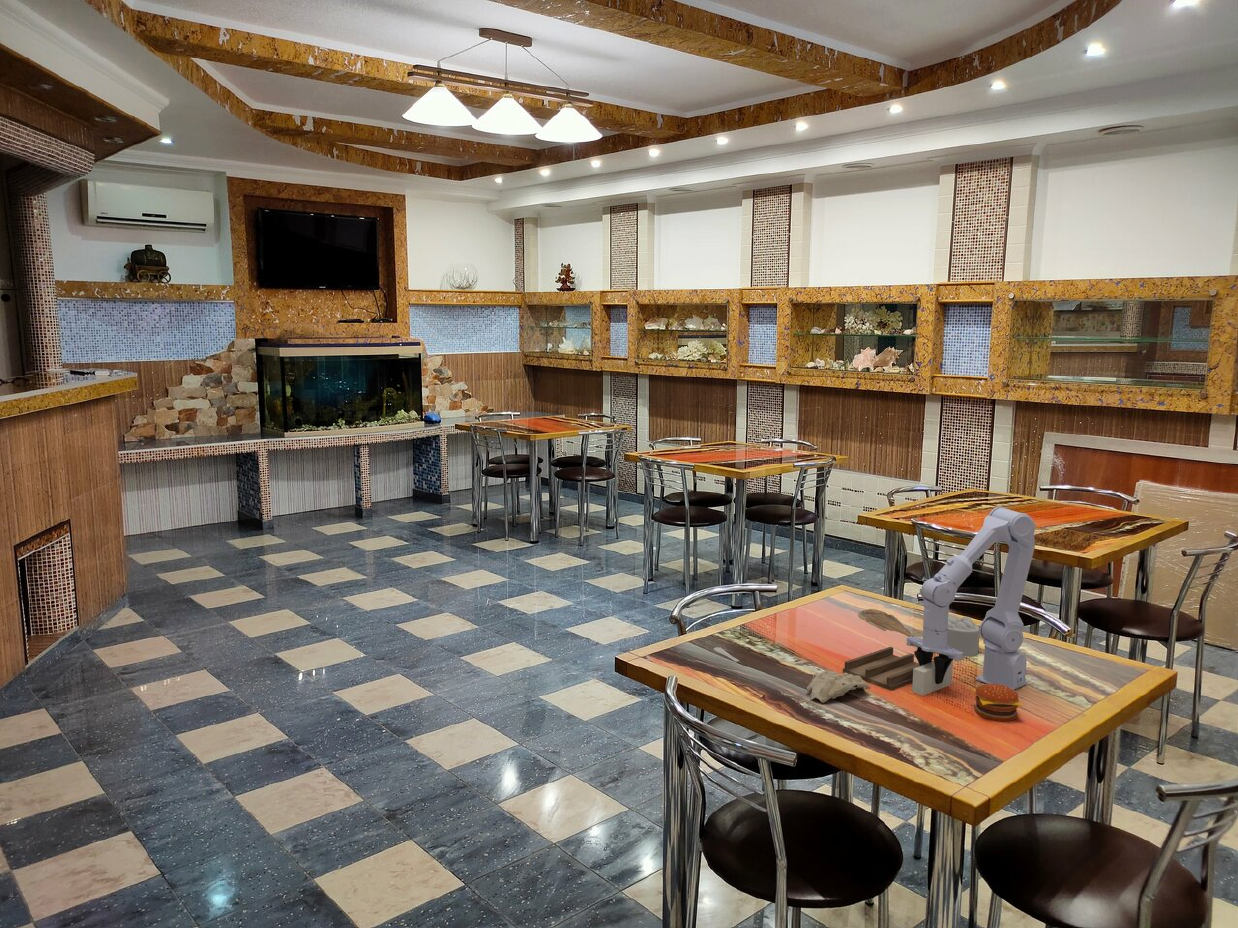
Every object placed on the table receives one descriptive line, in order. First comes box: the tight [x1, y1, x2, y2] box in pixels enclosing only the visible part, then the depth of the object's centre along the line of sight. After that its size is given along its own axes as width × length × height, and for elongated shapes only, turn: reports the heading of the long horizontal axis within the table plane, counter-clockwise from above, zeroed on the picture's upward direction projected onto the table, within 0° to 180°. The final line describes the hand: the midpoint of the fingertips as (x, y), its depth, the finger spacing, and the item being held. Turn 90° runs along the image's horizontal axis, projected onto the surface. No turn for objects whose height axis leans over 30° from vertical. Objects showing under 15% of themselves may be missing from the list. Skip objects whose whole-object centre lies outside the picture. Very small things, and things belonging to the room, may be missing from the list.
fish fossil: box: [857, 608, 915, 638], centre depth 270 cm, size 26×10×1 cm, turn 18°
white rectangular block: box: [911, 660, 954, 697], centre depth 221 cm, size 3×12×6 cm, turn 126°
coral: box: [806, 669, 871, 704], centre depth 218 cm, size 15×12×5 cm
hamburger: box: [972, 683, 1023, 722], centre depth 206 cm, size 9×10×7 cm
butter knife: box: [712, 647, 740, 662], centre depth 239 cm, size 1×24×3 cm
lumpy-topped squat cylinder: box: [947, 614, 981, 658], centre depth 248 cm, size 10×13×9 cm
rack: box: [842, 646, 934, 691], centre depth 231 cm, size 15×19×3 cm
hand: (932, 680), depth 221 cm, fingers closed on white rectangular block, 3 cm apart
